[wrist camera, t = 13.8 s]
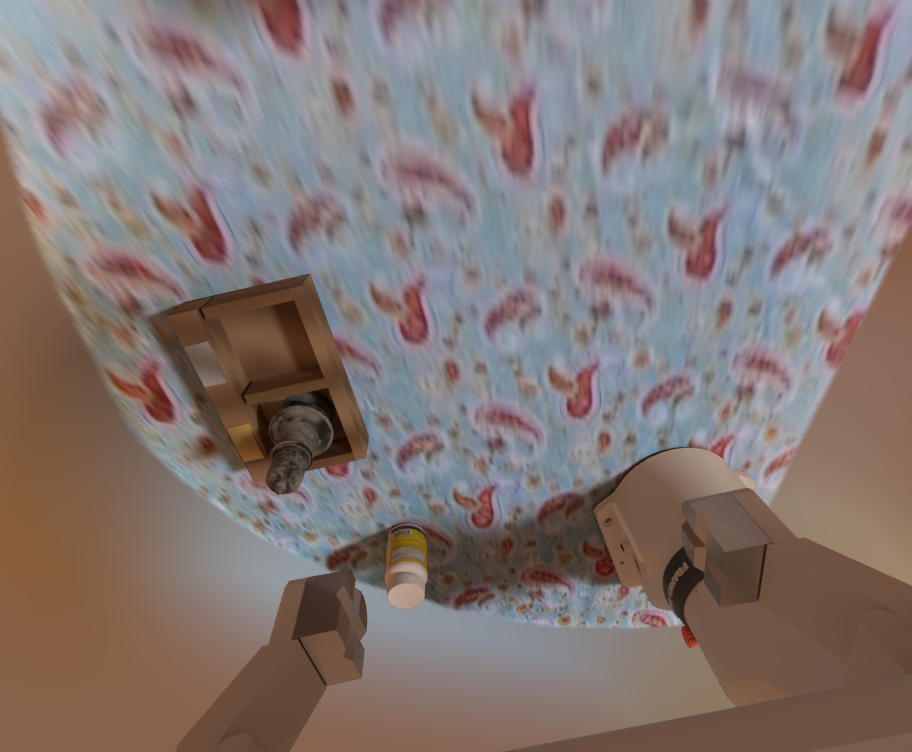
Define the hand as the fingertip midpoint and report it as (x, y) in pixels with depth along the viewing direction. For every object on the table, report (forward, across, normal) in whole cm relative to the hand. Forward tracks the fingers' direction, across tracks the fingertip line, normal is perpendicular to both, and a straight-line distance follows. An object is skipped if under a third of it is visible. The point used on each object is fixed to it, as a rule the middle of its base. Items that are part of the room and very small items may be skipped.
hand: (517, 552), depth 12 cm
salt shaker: (+34, +17, +13) cm, 40 cm away
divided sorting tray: (+34, +18, +9) cm, 40 cm away
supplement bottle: (+34, +12, +33) cm, 49 cm away
